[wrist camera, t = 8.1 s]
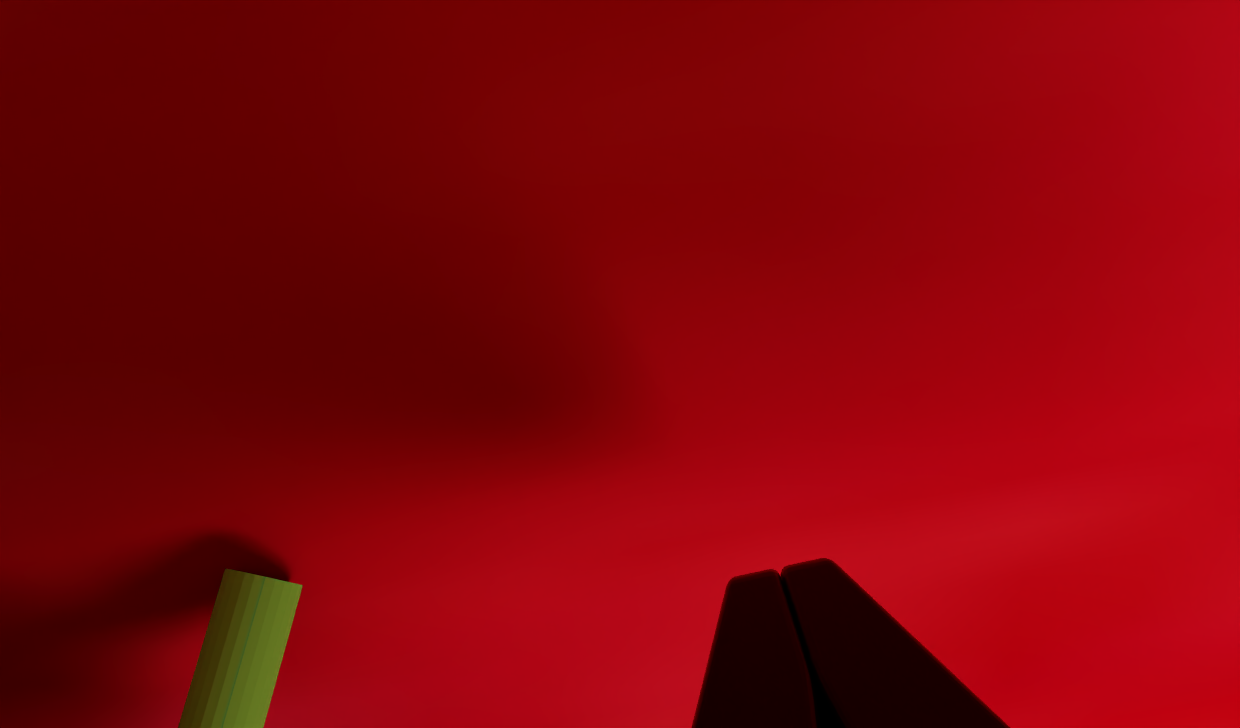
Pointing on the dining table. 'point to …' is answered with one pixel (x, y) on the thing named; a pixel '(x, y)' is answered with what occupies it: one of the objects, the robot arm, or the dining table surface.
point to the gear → (241, 652)
